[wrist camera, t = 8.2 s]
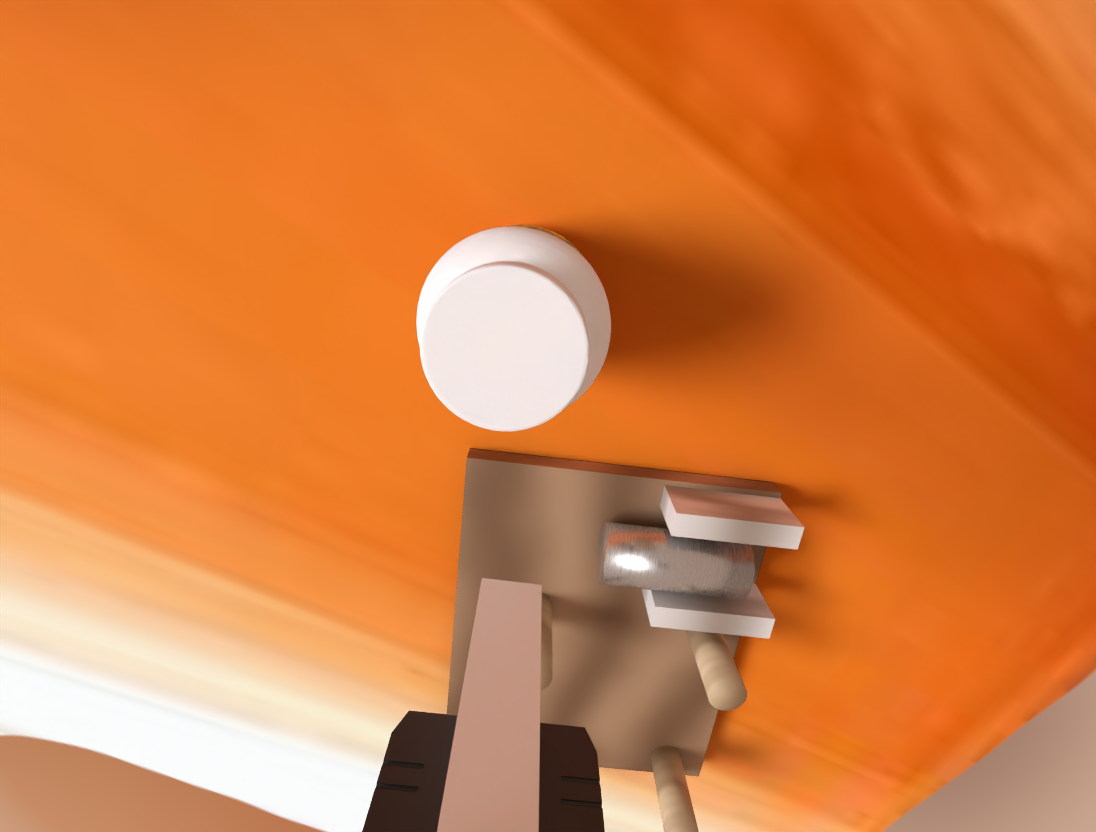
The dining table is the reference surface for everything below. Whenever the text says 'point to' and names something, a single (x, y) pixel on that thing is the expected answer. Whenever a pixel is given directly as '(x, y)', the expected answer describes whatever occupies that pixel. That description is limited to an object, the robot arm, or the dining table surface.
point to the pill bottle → (512, 327)
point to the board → (619, 603)
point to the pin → (673, 562)
